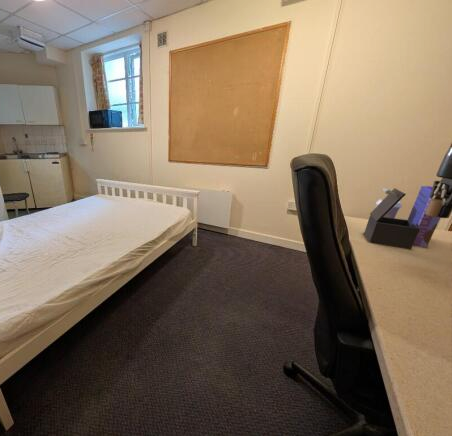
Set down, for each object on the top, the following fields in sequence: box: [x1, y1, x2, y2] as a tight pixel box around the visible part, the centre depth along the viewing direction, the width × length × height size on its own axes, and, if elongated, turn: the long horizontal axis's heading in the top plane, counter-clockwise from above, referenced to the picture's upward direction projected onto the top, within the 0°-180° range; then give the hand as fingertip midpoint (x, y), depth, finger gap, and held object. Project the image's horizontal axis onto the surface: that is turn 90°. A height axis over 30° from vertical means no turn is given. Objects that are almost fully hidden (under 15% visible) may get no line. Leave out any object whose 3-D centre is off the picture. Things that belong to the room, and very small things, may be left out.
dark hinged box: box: [363, 214, 420, 250], centre depth 101 cm, size 14×12×10 cm
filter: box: [425, 199, 452, 219], centre depth 72 cm, size 5×5×5 cm
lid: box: [369, 187, 407, 222], centre depth 99 cm, size 14×12×5 cm
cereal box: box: [407, 185, 448, 249], centre depth 100 cm, size 17×5×24 cm, turn 143°
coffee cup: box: [375, 198, 403, 218], centre depth 114 cm, size 10×10×15 cm
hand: (437, 214), depth 73 cm, fingers closed on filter, 5 cm apart
